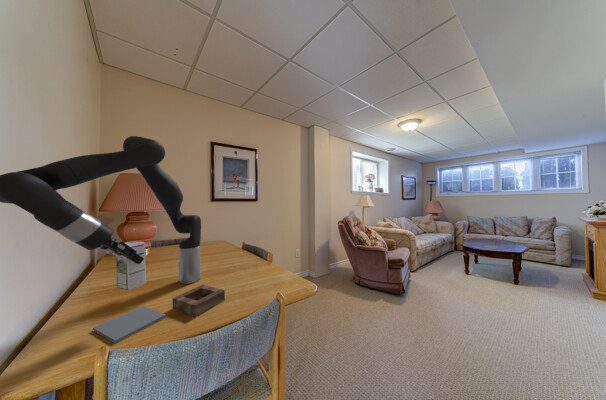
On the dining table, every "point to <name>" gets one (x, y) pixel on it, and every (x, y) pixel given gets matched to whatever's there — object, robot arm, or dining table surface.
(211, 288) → the socket block
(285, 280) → the dining table surface
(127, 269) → the syrup box
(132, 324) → the mat
